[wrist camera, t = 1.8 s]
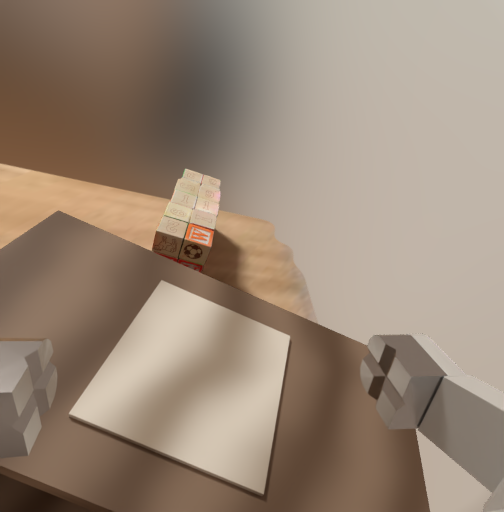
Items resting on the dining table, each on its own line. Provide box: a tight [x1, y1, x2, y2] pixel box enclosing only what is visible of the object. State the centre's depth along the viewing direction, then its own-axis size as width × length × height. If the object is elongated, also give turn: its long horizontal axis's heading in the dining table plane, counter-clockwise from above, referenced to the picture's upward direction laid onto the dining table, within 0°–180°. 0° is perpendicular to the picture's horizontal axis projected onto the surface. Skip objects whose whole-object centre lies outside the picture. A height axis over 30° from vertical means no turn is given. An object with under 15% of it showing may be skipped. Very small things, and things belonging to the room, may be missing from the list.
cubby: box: [0, 211, 430, 512], centre depth 25 cm, size 29×15×18 cm, turn 76°
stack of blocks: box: [152, 169, 221, 273], centre depth 48 cm, size 21×6×12 cm, turn 178°
